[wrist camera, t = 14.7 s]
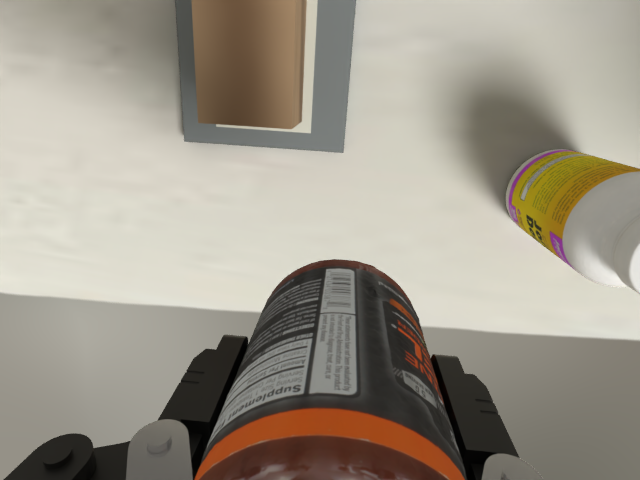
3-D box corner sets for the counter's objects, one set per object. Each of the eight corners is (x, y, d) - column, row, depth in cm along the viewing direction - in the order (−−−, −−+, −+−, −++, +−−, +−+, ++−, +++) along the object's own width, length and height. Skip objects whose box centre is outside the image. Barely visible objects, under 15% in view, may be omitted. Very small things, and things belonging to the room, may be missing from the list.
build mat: (358, -35, 25) (359, -41, 24) (343, 150, 30) (343, 153, 29) (178, -46, 26) (171, -51, 25) (189, 139, 30) (183, 141, 29)
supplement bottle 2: (484, 199, 30) (575, 270, 18) (549, 129, 28) (701, 157, 16) (544, 247, 32) (667, 342, 20) (611, 183, 29) (795, 246, 17)
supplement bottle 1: (439, 355, 15) (638, 937, 5) (306, 400, 17) (232, 937, 6) (379, 226, 14) (486, 692, 3) (235, 287, 15) (-40, 765, 4)
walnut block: (307, -7, 25) (296, -35, 19) (301, 121, 28) (291, 129, 22) (223, -12, 25) (189, -41, 20) (226, 116, 28) (198, 122, 23)
